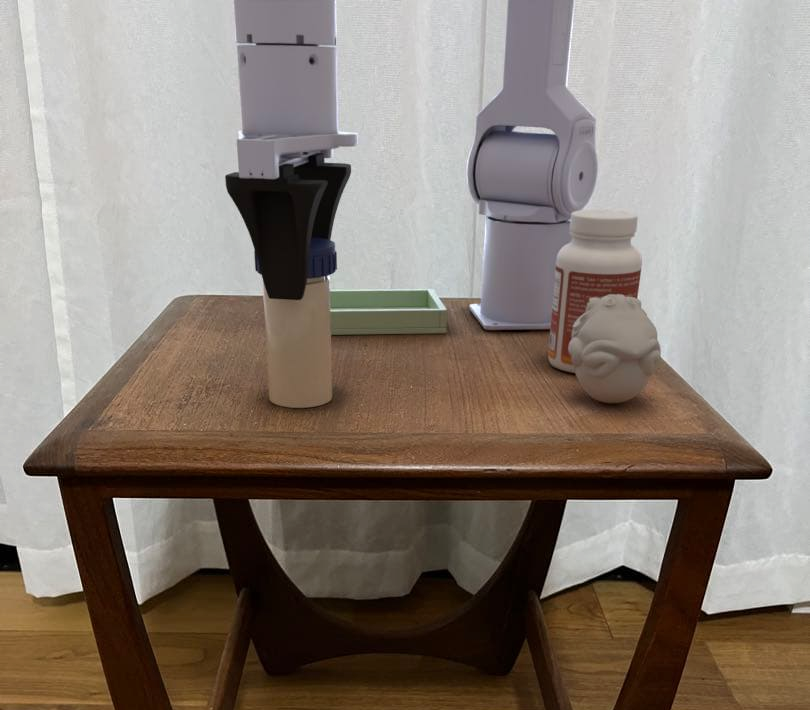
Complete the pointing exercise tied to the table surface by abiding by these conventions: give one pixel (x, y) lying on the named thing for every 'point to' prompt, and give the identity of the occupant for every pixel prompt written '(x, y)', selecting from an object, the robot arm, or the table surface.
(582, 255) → the pill bottle
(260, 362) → the table surface
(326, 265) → the lid
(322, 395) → the jar
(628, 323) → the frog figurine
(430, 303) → the tray
